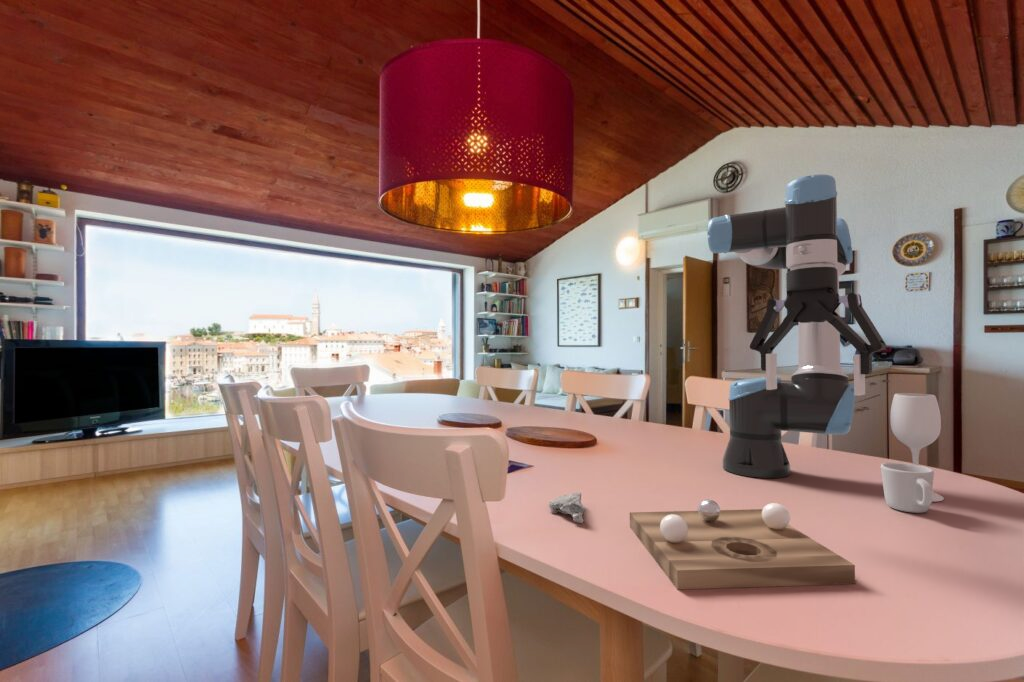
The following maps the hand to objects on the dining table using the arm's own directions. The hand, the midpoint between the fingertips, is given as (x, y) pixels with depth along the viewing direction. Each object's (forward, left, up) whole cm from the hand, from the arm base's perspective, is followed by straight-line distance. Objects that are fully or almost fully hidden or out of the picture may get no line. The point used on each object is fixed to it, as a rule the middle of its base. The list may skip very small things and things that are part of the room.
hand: (812, 392), depth 84 cm
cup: (-7, +24, -24) cm, 35 cm away
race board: (+8, -19, -24) cm, 31 cm away
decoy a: (+6, -10, -19) cm, 22 cm away
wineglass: (-16, +33, -24) cm, 44 cm away
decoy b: (+10, -28, -19) cm, 35 cm away
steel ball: (+2, -19, -19) cm, 27 cm away
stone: (-12, -41, -24) cm, 49 cm away
